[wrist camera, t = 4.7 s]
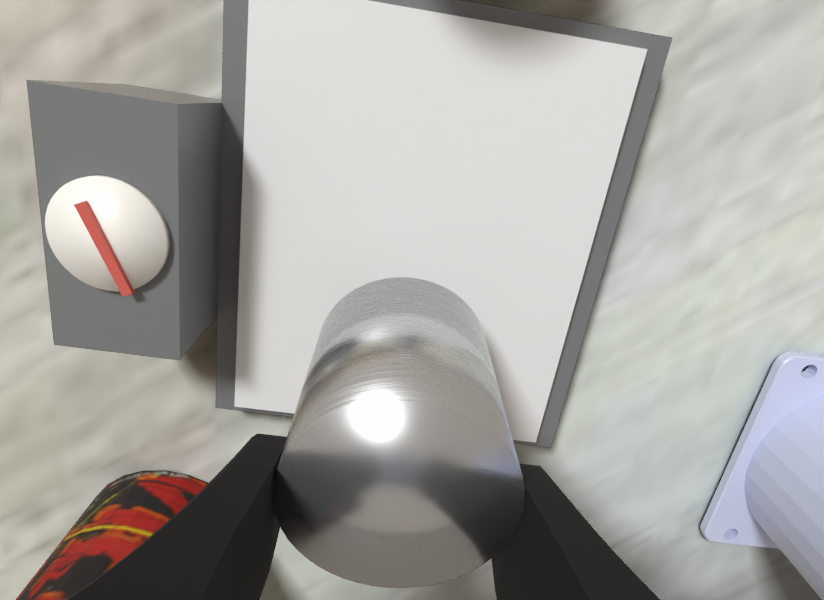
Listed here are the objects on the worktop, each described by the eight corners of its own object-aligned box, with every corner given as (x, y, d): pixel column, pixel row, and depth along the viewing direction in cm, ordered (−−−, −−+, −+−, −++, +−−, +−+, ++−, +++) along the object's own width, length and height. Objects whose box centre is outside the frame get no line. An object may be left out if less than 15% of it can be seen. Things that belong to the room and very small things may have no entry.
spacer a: (515, 312, 13) (570, 448, 9) (445, 440, 15) (462, 609, 10) (349, 251, 12) (316, 365, 8) (297, 394, 14) (244, 553, 10)
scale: (651, 42, 14) (749, 20, 10) (541, 426, 19) (579, 517, 15) (118, -51, 13) (-7, -117, 9) (136, 377, 18) (57, 460, 14)
